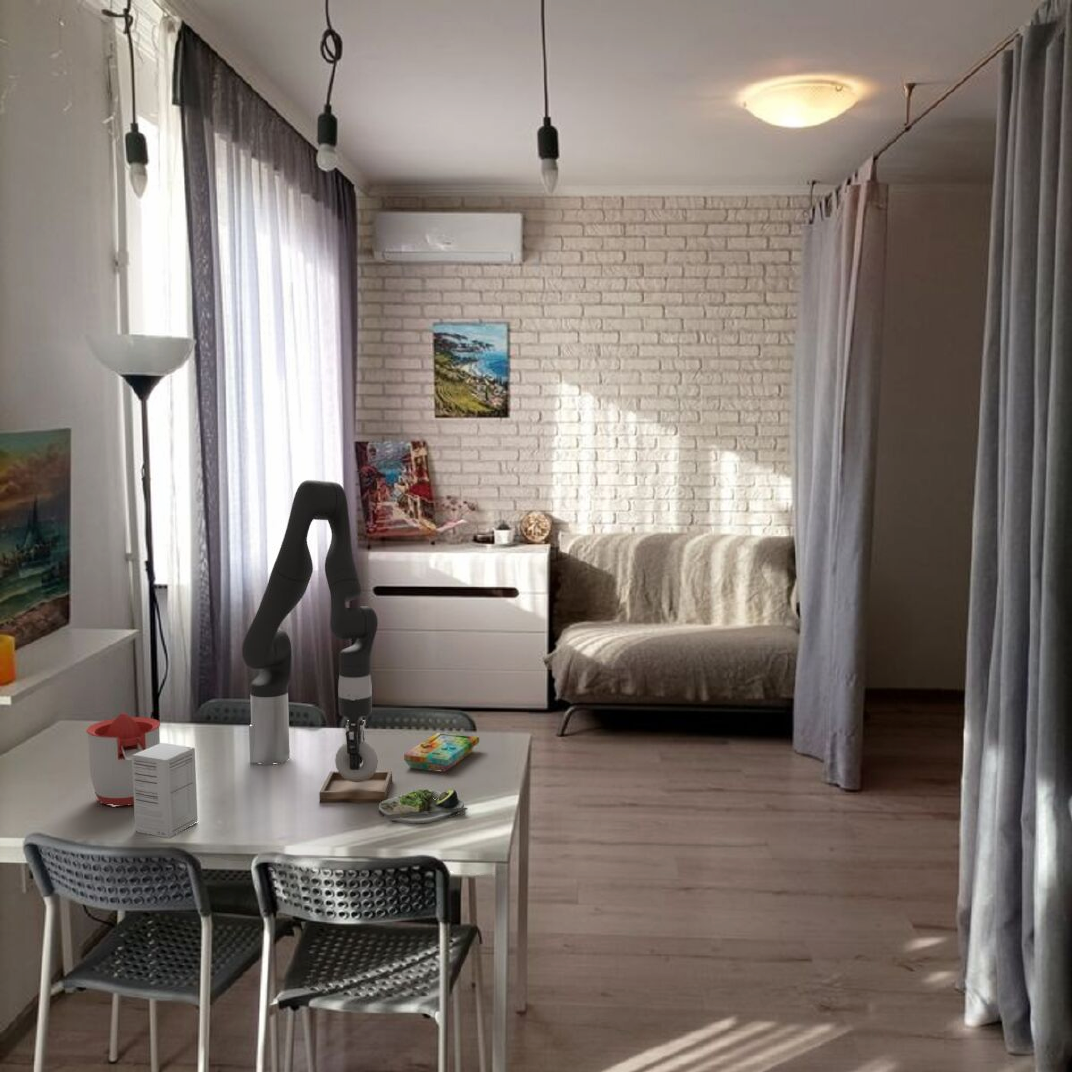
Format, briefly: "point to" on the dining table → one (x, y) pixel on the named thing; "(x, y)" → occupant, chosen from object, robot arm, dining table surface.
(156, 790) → the supplement box
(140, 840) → the dining table surface
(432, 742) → the puzzle game
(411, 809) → the salad plate
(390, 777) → the display tray
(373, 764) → the white ring
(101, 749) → the citrus juicer
